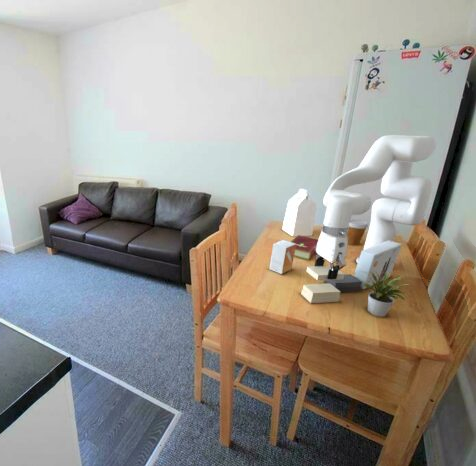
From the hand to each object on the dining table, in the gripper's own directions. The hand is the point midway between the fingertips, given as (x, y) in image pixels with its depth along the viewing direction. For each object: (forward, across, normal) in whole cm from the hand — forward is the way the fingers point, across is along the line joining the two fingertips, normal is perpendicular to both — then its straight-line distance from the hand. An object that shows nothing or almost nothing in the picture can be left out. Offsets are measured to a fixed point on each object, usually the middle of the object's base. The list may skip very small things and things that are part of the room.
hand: (324, 273), depth 117 cm
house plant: (+11, -10, -13) cm, 20 cm away
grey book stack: (+11, +6, -13) cm, 18 cm away
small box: (+11, +24, +3) cm, 27 cm away
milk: (+11, +68, -30) cm, 75 cm away
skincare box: (+11, +10, -29) cm, 33 cm away
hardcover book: (+11, +43, -19) cm, 48 cm away
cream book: (+1, 0, 0) cm, 1 cm away
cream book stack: (+11, 0, 0) cm, 11 cm away
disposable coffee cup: (+11, +49, -50) cm, 71 cm away
